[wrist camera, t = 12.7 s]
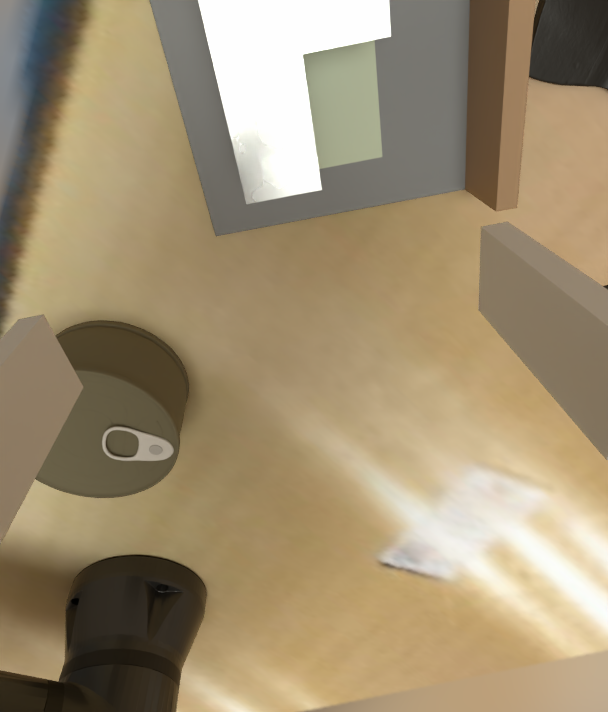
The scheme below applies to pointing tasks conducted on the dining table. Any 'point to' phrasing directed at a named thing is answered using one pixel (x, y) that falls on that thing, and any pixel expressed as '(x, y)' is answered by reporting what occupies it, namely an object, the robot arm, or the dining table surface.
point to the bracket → (279, 81)
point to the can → (118, 412)
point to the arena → (376, 110)
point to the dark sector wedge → (570, 43)
